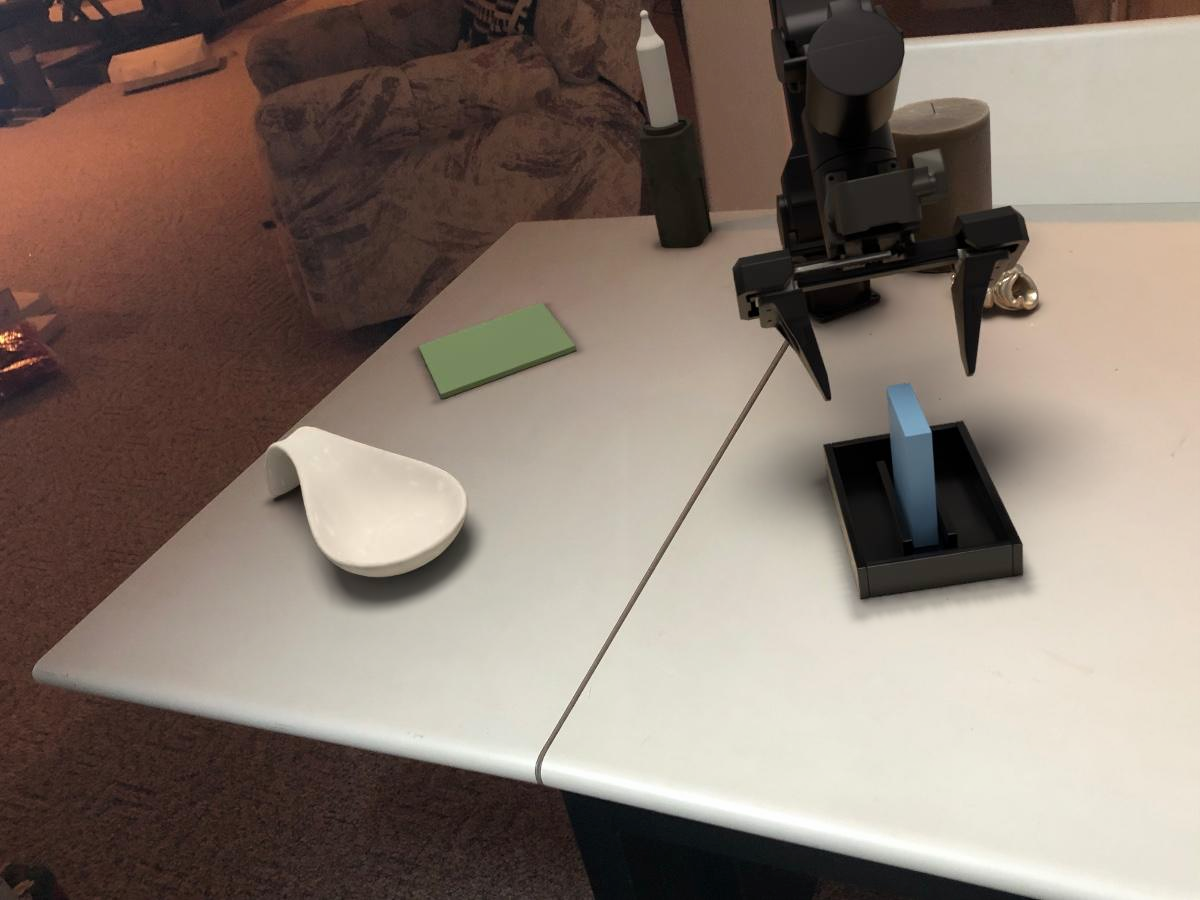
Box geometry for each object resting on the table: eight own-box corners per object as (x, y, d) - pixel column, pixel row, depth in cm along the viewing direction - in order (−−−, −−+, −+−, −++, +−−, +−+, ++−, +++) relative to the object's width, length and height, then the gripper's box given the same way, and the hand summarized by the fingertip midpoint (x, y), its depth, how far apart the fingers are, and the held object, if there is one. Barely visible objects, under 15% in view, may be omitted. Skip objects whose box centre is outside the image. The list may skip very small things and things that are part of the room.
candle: (674, 227, 126) (631, 5, 112) (715, 227, 124) (675, 0, 110) (657, 247, 122) (610, 20, 109) (699, 247, 120) (656, 15, 106)
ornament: (928, 307, 98) (926, 271, 96) (980, 277, 101) (979, 241, 99) (1000, 332, 92) (999, 294, 90) (1053, 299, 95) (1054, 261, 93)
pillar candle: (930, 283, 102) (921, 128, 94) (871, 252, 110) (858, 107, 102) (1016, 248, 104) (1014, 93, 96) (952, 220, 112) (945, 75, 104)
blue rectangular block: (895, 494, 76) (885, 386, 71) (918, 490, 76) (910, 382, 71) (913, 548, 71) (905, 436, 66) (938, 544, 71) (931, 432, 66)
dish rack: (827, 482, 81) (822, 443, 79) (965, 459, 79) (963, 420, 77) (861, 610, 69) (857, 569, 67) (1023, 586, 68) (1023, 544, 66)
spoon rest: (508, 531, 84) (482, 457, 80) (390, 622, 78) (356, 547, 74) (343, 452, 100) (315, 386, 96) (235, 523, 94) (200, 456, 90)
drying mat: (543, 306, 116) (542, 301, 116) (576, 350, 106) (575, 345, 106) (419, 350, 114) (418, 345, 114) (442, 399, 104) (440, 394, 104)
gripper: (711, 143, 68) (753, 383, 64) (1019, 79, 65) (1079, 325, 62) (721, 214, 78) (758, 422, 75) (986, 161, 76) (1035, 374, 73)
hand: (899, 387), depth 71 cm, fingers open, 9 cm apart
